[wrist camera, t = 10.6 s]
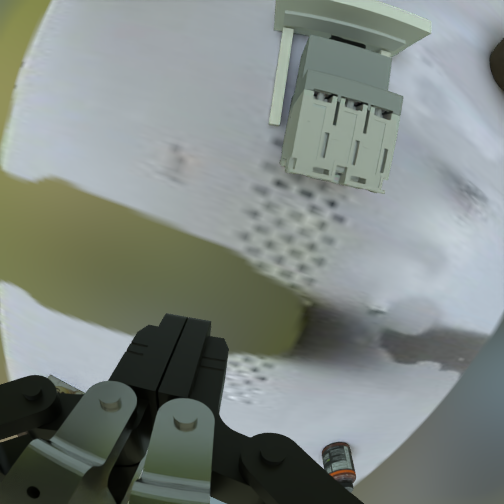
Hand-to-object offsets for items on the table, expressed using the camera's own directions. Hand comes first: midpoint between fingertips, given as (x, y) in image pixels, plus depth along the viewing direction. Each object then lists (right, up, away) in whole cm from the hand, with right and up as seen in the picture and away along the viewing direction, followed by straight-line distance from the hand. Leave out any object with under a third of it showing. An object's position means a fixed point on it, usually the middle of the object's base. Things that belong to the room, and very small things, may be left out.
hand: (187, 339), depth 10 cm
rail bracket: (+12, +25, +21) cm, 35 cm away
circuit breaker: (+10, +19, +24) cm, 32 cm away
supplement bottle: (+19, -38, +43) cm, 61 cm away
